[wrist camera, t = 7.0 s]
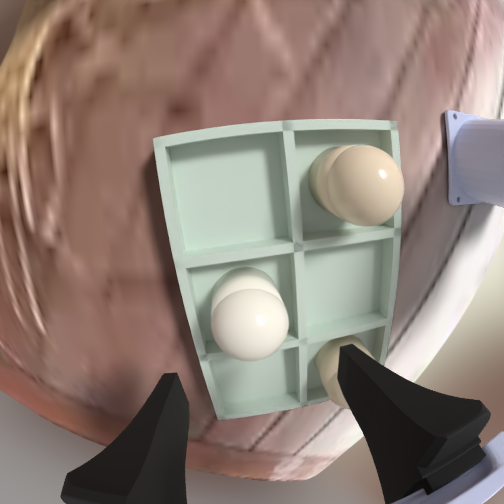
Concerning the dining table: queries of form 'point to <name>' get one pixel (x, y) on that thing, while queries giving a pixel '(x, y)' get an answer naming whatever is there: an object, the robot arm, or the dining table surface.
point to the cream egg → (248, 314)
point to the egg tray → (276, 250)
